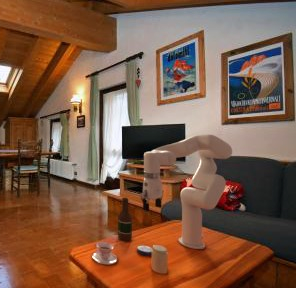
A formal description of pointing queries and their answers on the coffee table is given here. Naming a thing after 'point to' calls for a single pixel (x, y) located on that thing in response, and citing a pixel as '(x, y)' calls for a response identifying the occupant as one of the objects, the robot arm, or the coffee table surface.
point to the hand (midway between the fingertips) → (152, 208)
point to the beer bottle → (125, 222)
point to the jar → (159, 259)
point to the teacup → (104, 253)
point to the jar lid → (144, 250)
